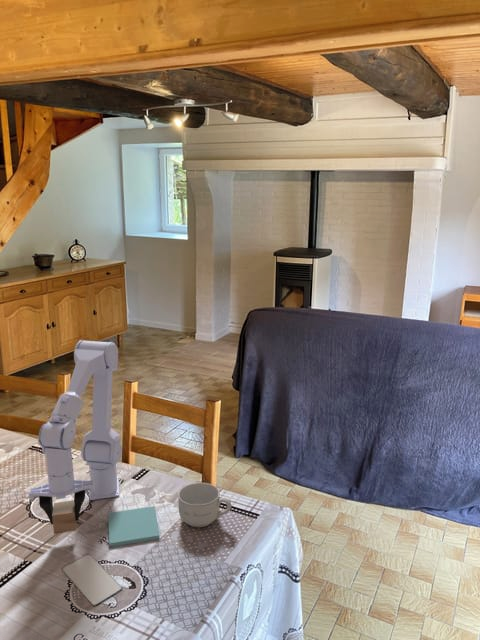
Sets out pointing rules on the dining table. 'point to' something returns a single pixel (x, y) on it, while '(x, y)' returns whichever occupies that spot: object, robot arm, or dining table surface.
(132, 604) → the dining table surface
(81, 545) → the dining table surface
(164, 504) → the dining table surface
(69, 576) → the smartphone
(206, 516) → the teacup
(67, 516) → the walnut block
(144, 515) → the teal square plate
